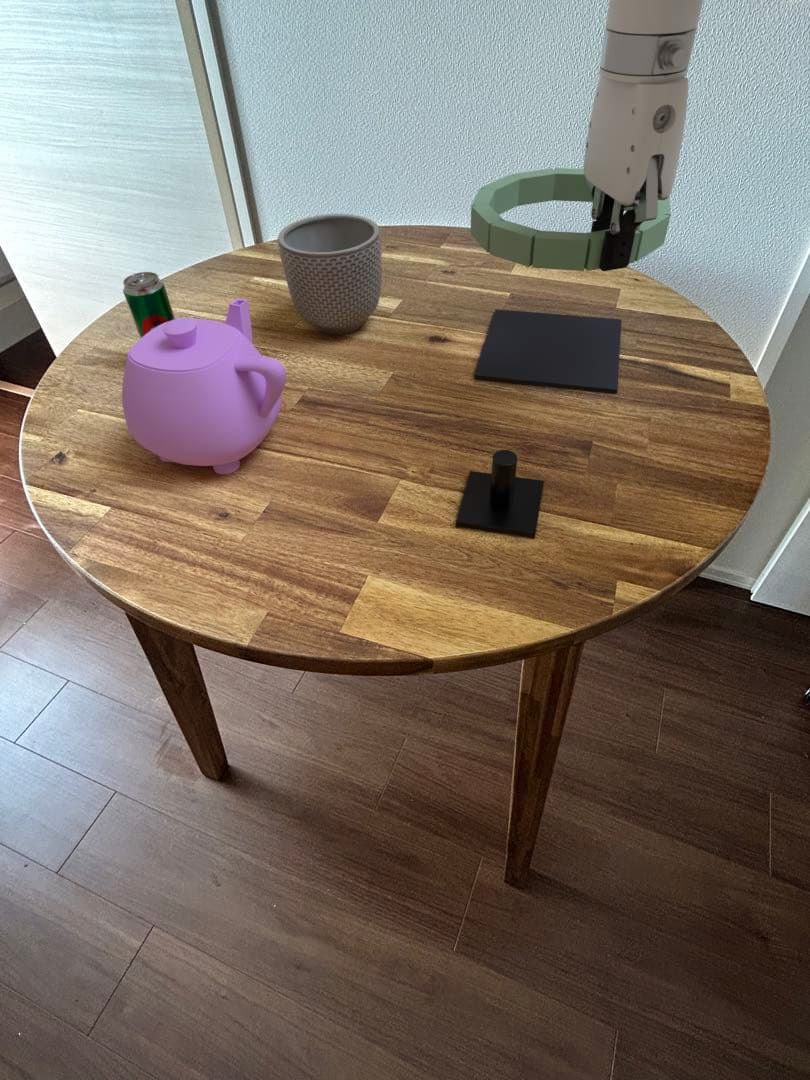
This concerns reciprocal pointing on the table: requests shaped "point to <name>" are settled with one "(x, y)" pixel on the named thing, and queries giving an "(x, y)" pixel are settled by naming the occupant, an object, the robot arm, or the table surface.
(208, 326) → the teapot
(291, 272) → the planter
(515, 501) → the post
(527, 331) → the mat
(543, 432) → the table surface
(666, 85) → the robot arm
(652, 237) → the hoop
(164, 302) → the soda can
